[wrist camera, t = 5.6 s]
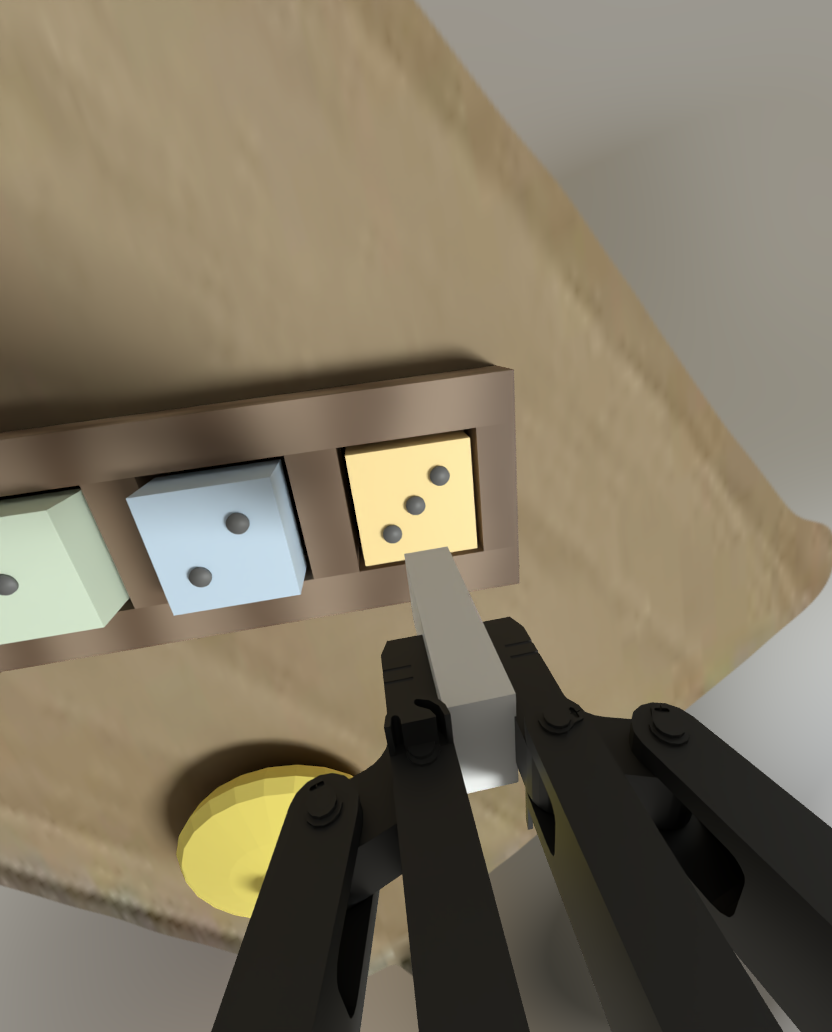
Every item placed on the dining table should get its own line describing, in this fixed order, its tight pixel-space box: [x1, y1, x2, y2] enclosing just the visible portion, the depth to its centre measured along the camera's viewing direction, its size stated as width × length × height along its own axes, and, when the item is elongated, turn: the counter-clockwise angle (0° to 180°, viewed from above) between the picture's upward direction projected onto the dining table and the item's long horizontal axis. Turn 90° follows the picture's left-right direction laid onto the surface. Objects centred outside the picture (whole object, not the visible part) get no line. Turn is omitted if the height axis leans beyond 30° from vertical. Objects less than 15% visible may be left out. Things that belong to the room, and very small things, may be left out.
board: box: [0, 365, 519, 672], centre depth 24 cm, size 30×12×3 cm, turn 97°
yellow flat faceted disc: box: [176, 765, 353, 918], centre depth 32 cm, size 16×16×7 cm
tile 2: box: [126, 459, 307, 616], centre depth 22 cm, size 6×6×3 cm
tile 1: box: [0, 488, 130, 645], centre depth 21 cm, size 6×6×3 cm
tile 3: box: [345, 430, 477, 566], centre depth 24 cm, size 6×6×3 cm
